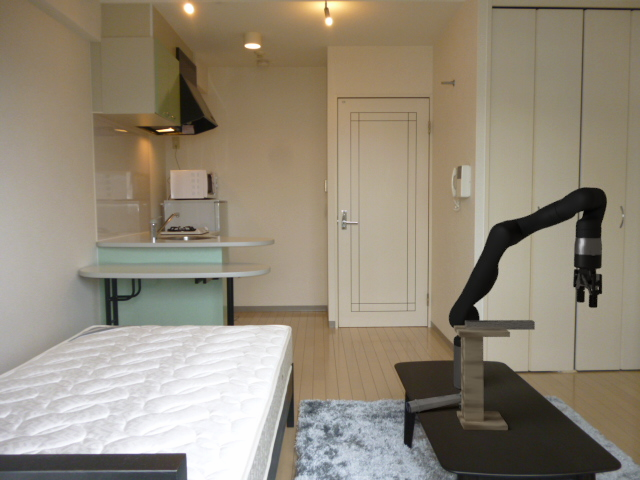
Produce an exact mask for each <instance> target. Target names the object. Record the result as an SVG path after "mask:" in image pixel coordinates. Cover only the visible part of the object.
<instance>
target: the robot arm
mask: <svg viewBox="0 0 640 480" xmlns="http://www.w3.org/2000/svg"><path fill="white" fill-rule="evenodd" d="M607 205H608V199H607V194H606V191H604V190H603V189H601V188H600V187H590V186H589V187H587V186H585V187H579V188H577V189H575V190H573V191H571V192H569V193H568V194H566V195H565V196H564V197H562V198H560V199H558V200H555V201H553V202H551V203H548V204H546V205H545V206H543V207H541V208H539V209H538V210H536V211H534V212H532V213H530V214H528V215H526V216H523V217H518V218H514V219H507V220H503V221H501V222H497V223H496V224H494V225H493V226H491V228H490V231H489V232H488V235H487V238H486V240H485V243H484V247H483V250H482V251H481V254H480V255H479V257H478V259H477V260H476V261H477V262H476V264H475V266H474V267H473V269H472V271H471V273H470V275H469V277H468V279H467V282H466V284H465V285H464V287H463V289H462V291H461V293H460V295H459V296H458V298H457V300H456V301H455V302H454V303H453V306H452V307H451V309H450V310H449V314H448V322H449V325H450V327H451V328H453V329H454V326H465V320H481V319H480V313H479V310H478V309H477V307H476V306H475V305H476V304H477V303H478V302H480V301H481V300H482V299H484V298H485V296H486V297H487V295H488V294H489V293H490V292H491V290H492V289H493V288H494V285H495V283H496V281H497V280H498V276H499V271H500V270H499V264H500V261H501V259H502V257H503V256H504V254H505V252H506V251H507V249H509V248H510V247H513V246H516V245H517V244H519V243H520V242H522V241H523V240H525V239H526V238H527V237H529V236H530V235H532V234H535V233H536V232H539V231H541V230H543V229H547V228H551V227H554V226H556V225H559V224H561V223H564V222H566V221H569V220H571V219H573V218H574V217H575V216H576V215H577V214H578V213H581V212H582V217H580V218H579V219H578V220H577V221H576V223H575V240H574V244H573V246H574V247H573V267H574V269H573V279H572V280H573V281H572V287H573V288H575V290H576V303H585V302H586V301H585V300H586V299H585V298H586V289H587V291H588V307H589V308H591V309H594V308H595V309H597V307H598V299H599V298H598V297H599V295H602V294H603V274H602V273H597V270H600V269H601V268H602V267H603V265H602V261H603V259H602V258H603V244H602V243H603V242H602V224H603V221H604V218H605V214H606V211H607V207H608V206H607ZM453 387H454V388H455V389H458V390H461V337H459V335H458V334H457V335H455V336H454V337H453Z"/></svg>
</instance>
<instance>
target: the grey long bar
mask: <svg viewBox="0 0 640 480" xmlns="http://www.w3.org/2000/svg"><path fill="white" fill-rule="evenodd" d="M535 322H536V321H534V320H532V319H517V320H516V319H515V320H514V319H510V320H509V319H508V320H507V319H505V320H503V319H502V320H501V319H500V320H499V319H498V320H497V319H492V320H491V319H490V320H489V319H485V320H484V319H483V320H481V319H480V320H465V329H466V330H508V331H510V330H521V331H522V330H528V331H529V330H532V331H533V330H535V328H536V327H535V325H536V324H535Z"/></svg>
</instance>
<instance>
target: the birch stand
mask: <svg viewBox="0 0 640 480" xmlns="http://www.w3.org/2000/svg"><path fill="white" fill-rule="evenodd" d="M453 331H454V332H455V334H457V335H459V337H461V389H460V390H461V391H460V392H461V409H460V410H456V415H457V418H458V420H459V423H460V424H461V426H462V428H463V430H464V431H465V430H466V431H468V430H469V431H508V430H509V426H508V424H507V422H506V421H505V420H504V417H502V416H501V414H500V412H499V411H498V410H487V411H486V410H484V407H485V406H484V403H485V402H484V401H485V400H484V338H510V337H511V332H510V330H466V329H465V326H454V328H453Z"/></svg>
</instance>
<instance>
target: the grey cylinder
mask: <svg viewBox="0 0 640 480" xmlns="http://www.w3.org/2000/svg"><path fill="white" fill-rule="evenodd" d="M454 404H457V405H458V408H459V409H460V410H461V391H459V393H453V394H447V395H440V396H434V397H427V398H421V399H416V398H415V399H414V400H410V401H406V402H405V408H406V410H407V412H408V414H414V413H420V412H423V411H428V410H431V409H435V408H441V407H444V406H445V407H446V406H450V405H454Z"/></svg>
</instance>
